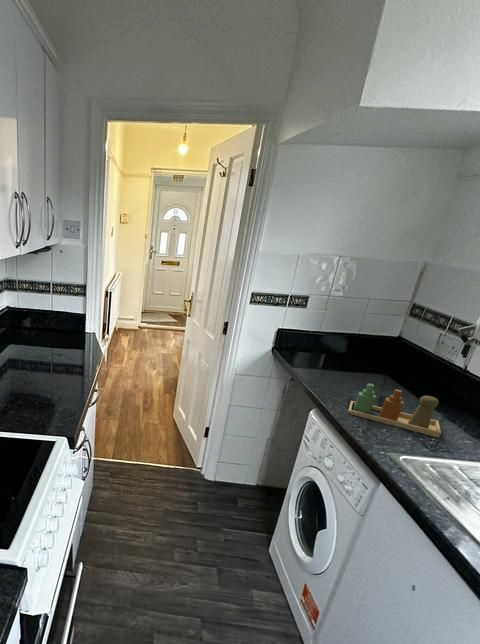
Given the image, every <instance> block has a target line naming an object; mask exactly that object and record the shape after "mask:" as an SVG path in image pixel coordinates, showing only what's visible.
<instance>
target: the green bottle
mask: <svg viewBox="0 0 480 644" xmlns="http://www.w3.org/2000/svg"><path fill="white" fill-rule="evenodd" d="M374 387H375V384H373V383H367V384H366V388H364V389H362V391H358V393H357V398H356V400H355V402H356V403H355V405H354V406H353V409H352V410H353V411H357V412H361V413H365V414H369V415H371V413H372V411H373V409H372V407H373V406H374V405H375V401H376V399H377V396H376V395H375V391H374Z"/></svg>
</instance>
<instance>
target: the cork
mask: <svg viewBox="0 0 480 644" xmlns="http://www.w3.org/2000/svg"><path fill="white" fill-rule="evenodd" d="M418 402H419V405H417V408H416V410H415V411H414V412H413V414H411V415H412V417H411V418H410V420H409V421H408V424H411V425H415V426H419V427H423V428H427V429H428V427H429V424H430V420H431V419H432V417H433V413H434V410H435V408H437V407H438V406H439V399H438V398H436V397H435V396H430V395H423V396H421V397H420V398H419V401H418Z"/></svg>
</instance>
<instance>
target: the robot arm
mask: <svg viewBox="0 0 480 644" xmlns="http://www.w3.org/2000/svg"><path fill="white" fill-rule="evenodd" d="M457 330H458V335H459V338H460V339H461V341H462V342H463V346H462V348H461V351H460V355H461V357H462V359H467V357H468V355H469V352H470V350H471V348H472V346H471V345H472V344H473V343H475V342H478V341H480V316H479V317H478V319H477V321H476V323H475V324H472V325H467V326H464V327H459V328H458V329H457ZM466 332H471V336H470V337H468V338H467V336H466V334H465V333H466Z"/></svg>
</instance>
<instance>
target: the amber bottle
mask: <svg viewBox="0 0 480 644" xmlns="http://www.w3.org/2000/svg"><path fill="white" fill-rule="evenodd" d="M402 393H403V390H401V389H394V391H393V394H390V395H389V397H385V399H384V402H383V404H382V406H381V408H382V410H381V412H380V413H379V414H378V415H379V416H378V417H382V418H386V419H390V420H394V421H397V420H398V417H399V415H400V412H402V410H403V407H404V404H405V402H404V401H403V397H402Z"/></svg>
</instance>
